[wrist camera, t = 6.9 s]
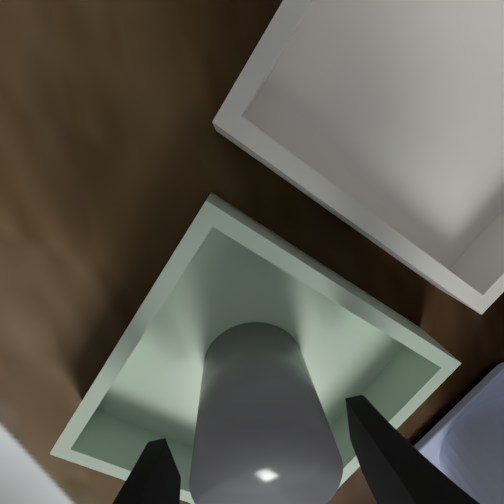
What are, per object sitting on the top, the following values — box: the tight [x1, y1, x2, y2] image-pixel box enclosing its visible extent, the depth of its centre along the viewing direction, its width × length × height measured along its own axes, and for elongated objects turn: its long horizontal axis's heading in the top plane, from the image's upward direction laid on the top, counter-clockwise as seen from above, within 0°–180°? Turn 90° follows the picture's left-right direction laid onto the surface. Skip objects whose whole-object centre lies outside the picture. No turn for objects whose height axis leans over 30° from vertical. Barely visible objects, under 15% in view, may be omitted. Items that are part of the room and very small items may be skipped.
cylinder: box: [189, 322, 343, 504], centre depth 11 cm, size 5×5×5 cm
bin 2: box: [50, 192, 461, 504], centre depth 13 cm, size 12×12×3 cm
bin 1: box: [212, 0, 504, 315], centre depth 9 cm, size 12×12×3 cm
